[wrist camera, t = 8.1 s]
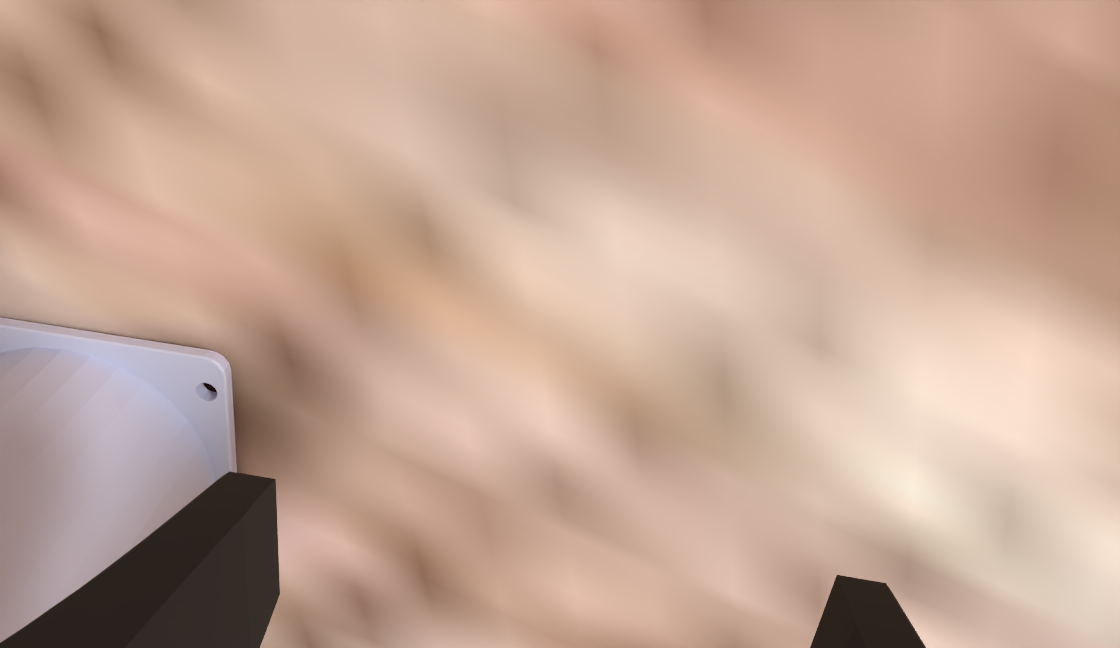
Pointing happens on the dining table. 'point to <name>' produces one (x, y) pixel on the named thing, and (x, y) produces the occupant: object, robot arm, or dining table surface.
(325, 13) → the dining table surface
